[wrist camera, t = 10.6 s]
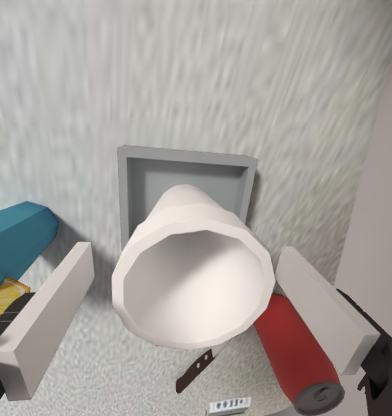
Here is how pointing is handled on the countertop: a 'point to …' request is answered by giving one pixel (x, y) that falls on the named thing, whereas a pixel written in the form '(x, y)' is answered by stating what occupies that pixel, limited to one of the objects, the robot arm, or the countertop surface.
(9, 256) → the cup
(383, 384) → the robot arm
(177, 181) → the tray
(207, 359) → the kitchen knife
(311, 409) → the beer can
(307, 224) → the countertop surface
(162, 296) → the foam cup
